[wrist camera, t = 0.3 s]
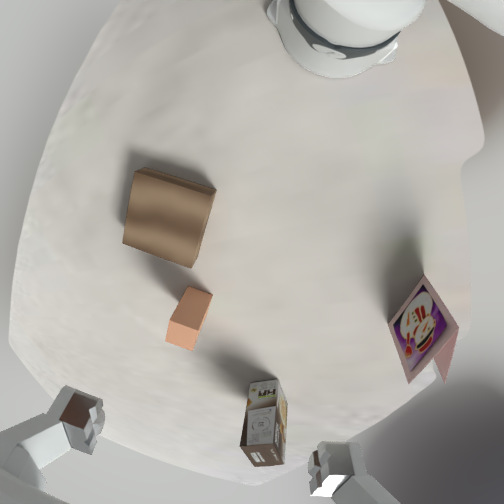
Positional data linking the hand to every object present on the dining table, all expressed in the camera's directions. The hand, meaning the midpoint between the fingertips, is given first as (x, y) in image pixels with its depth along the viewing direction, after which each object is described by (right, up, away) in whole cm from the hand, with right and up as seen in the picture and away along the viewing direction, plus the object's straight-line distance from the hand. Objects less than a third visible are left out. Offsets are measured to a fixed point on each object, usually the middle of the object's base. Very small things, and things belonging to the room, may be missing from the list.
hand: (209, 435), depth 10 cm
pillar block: (-8, -2, +45) cm, 46 cm away
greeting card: (+31, -3, +41) cm, 52 cm away
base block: (-11, +13, +40) cm, 43 cm away
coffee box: (+5, -24, +54) cm, 59 cm away
